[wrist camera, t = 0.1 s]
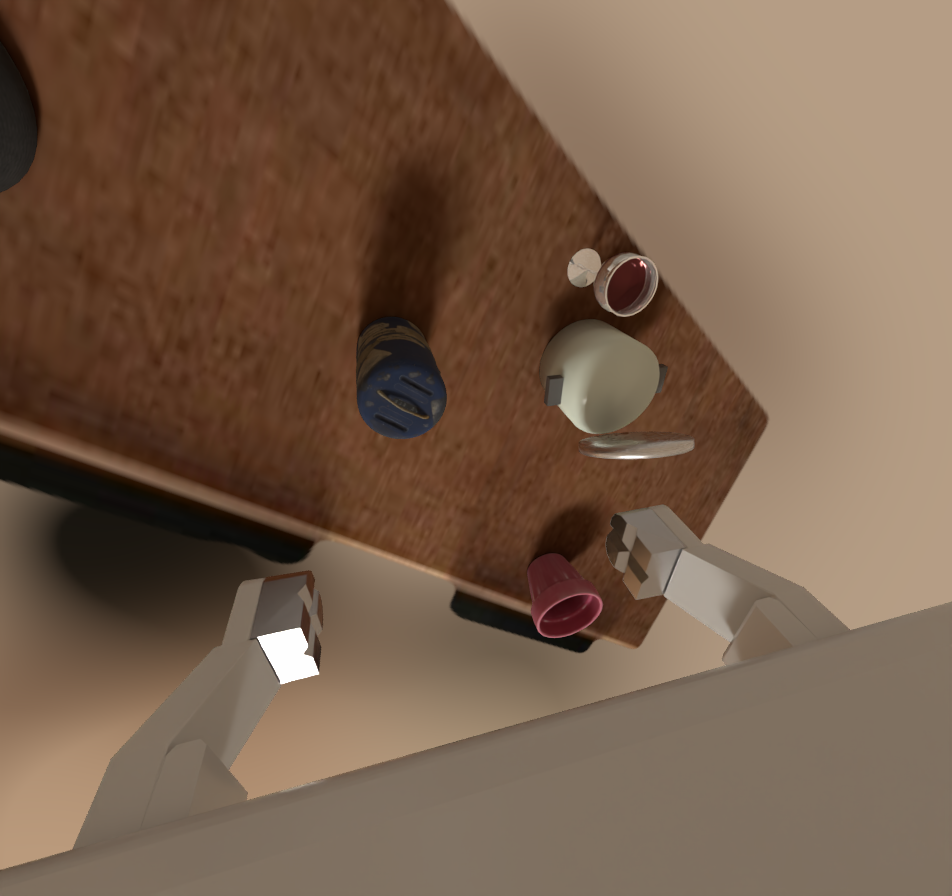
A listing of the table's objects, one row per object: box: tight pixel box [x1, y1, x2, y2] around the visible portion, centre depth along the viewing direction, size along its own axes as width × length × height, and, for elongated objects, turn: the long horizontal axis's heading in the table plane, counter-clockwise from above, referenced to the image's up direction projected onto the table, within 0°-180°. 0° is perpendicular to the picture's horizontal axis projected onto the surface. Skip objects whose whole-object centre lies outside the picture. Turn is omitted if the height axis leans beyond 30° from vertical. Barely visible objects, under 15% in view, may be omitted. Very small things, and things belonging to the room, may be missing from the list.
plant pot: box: [527, 553, 603, 638], centre depth 86 cm, size 14×14×13 cm
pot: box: [539, 319, 668, 434], centre depth 60 cm, size 14×18×10 cm
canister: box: [356, 317, 447, 439], centre depth 49 cm, size 10×10×18 cm
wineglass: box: [568, 248, 658, 317], centre depth 51 cm, size 7×7×12 cm
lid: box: [579, 432, 694, 459], centre depth 53 cm, size 14×14×2 cm
